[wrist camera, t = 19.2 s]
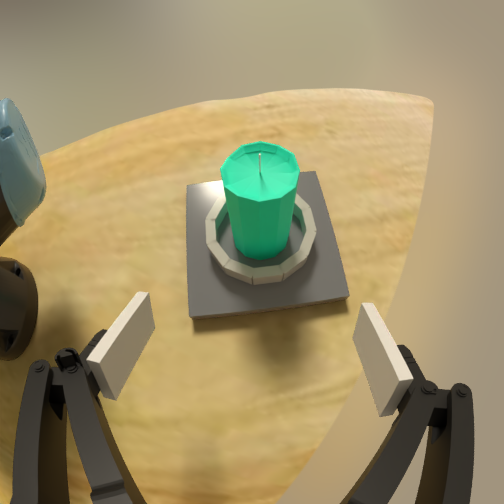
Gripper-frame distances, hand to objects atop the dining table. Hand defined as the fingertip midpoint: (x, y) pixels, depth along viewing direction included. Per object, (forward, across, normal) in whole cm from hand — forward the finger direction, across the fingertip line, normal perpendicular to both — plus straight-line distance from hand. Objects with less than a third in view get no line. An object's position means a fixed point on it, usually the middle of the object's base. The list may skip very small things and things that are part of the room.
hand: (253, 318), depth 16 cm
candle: (+15, 0, 0) cm, 15 cm away
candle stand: (+16, 0, 0) cm, 16 cm away
